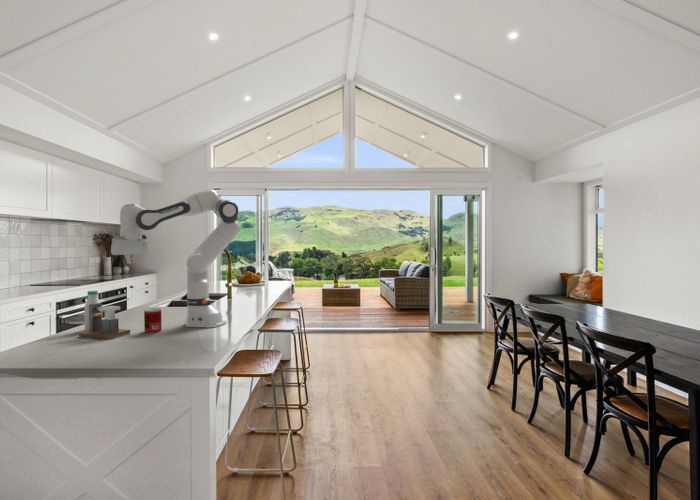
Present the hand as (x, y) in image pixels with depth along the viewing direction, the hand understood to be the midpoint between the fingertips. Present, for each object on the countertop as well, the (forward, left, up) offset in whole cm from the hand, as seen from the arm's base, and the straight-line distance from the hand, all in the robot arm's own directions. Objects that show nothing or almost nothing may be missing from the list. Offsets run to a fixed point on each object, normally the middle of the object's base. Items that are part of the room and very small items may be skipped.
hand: (130, 263), depth 218 cm
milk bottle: (+18, +7, -34) cm, 39 cm away
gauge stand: (+2, +14, -34) cm, 37 cm away
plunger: (+1, +14, -28) cm, 31 cm away
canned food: (-13, -1, -34) cm, 37 cm away
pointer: (+6, +14, -24) cm, 29 cm away
